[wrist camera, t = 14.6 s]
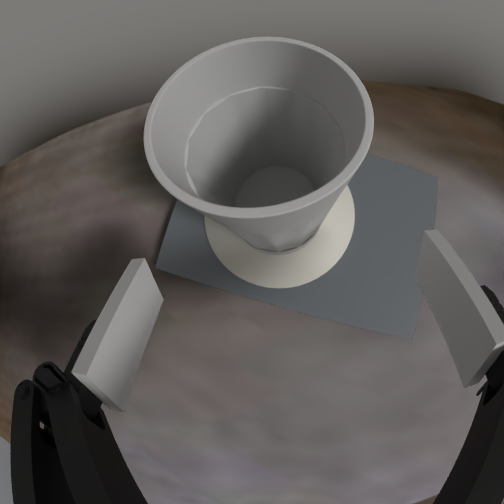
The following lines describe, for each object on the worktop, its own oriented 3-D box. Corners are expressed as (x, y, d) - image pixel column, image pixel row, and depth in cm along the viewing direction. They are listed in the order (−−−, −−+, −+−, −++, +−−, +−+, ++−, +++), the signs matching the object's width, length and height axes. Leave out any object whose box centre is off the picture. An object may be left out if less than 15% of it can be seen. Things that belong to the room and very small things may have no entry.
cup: (229, 161, 21) (170, 48, 10) (333, 163, 20) (357, 40, 8) (218, 263, 20) (121, 216, 9) (332, 270, 19) (384, 225, 7)
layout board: (161, 269, 22) (153, 267, 21) (211, 130, 24) (206, 121, 22) (406, 338, 19) (413, 340, 17) (432, 182, 20) (438, 176, 19)
